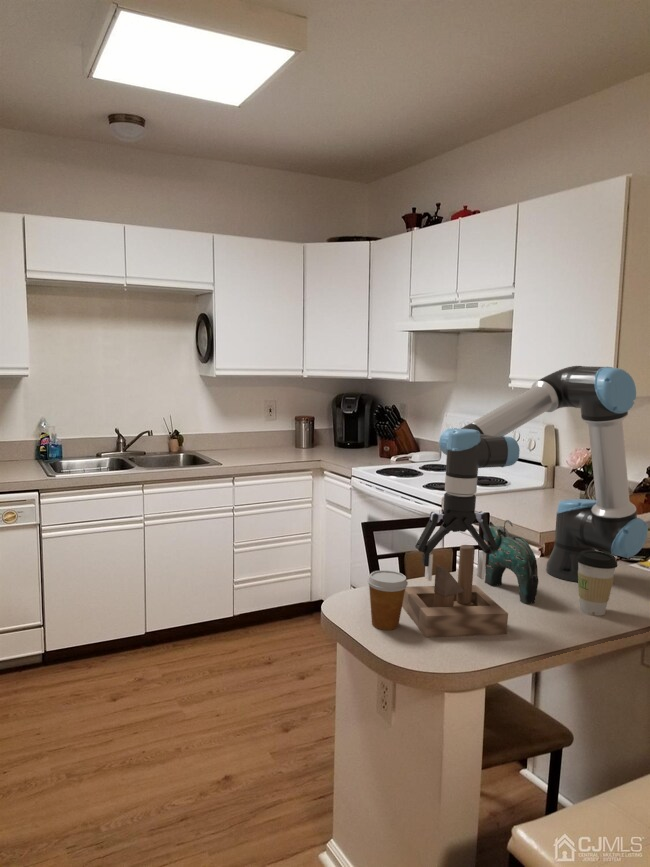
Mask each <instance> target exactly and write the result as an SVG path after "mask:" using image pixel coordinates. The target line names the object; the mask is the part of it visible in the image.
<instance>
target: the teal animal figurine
mask: <svg viewBox="0 0 650 867" xmlns="http://www.w3.org/2000/svg"><path fill="white" fill-rule="evenodd" d="M507 522H508V524H509V525H511V527H513V524H512V521H510V520H509V519H506V520H505V521H504V523H503V524H504V525H503V526H501V525H500V526H499V525H498V526H497V525H494V523H493V522H492V521H489V523H488V525H489V527H490V530H491V532H492V535H493V537H494V540H495V542H496V545H497V547H498V548H497V550H493V551H492V553H491V554H489V564H488V565H485V578H484V583H485V584H487V585H489V586H490V587H491V586H492V587H497V586H502V583H503V580H502V579H503V575H504V573H505V571H506V569H508V570H510V571H512V572H513V574H514V576H515V577H516V579H517V583H518V591H519V592H518V594H519V602H521V603H523V604H525V605H531V604H535V601H536V598H537V594H538V593H537V592H538V586H539V576H538V562H537V558H536V555H535V553H534V551H533V549H532V548H531V545H530V544H529V543H528V542H527V541H526V540H525V539H523V537H520V536H511V535H510V533H509V531H508V530H507V528H505V527H506V523H507ZM482 539H483V540H484V542H485V543H486V544H487V545H488V542H487V540H486V538H485V535H484V534H483V538H482Z"/></svg>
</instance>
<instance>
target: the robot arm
mask: <svg viewBox="0 0 650 867" xmlns="http://www.w3.org/2000/svg"><path fill="white" fill-rule="evenodd" d="M636 399H637V386H636V383H635V380H634V379H633V377H632V375H631V374H629V372H627V370H624V369H622V368H617V367H612V366H584V365H583V366H582V365H571V366H567V367H565V368H561V369H559V370H556V371H553V372H552V373H550V374H548V375H546V376H544V377H542V378H540V379H538V380H536V381H535V382H534V383H533V384H532V385H531V387H530V389H528V390H526V391H525V392H522V393H520V395H517V396H515V397H514V398H512V399H511V400H508V401H506V402H505V403H502V405H500V406H498V407H496V408H494V409H493V410H491V411H490V412H487V413H486V414H484V415H482V416H480V417H479V418H477V419H475V420H473V421H471V422H469V423H468V424H467V425H464V426H462V427H460V428H456V427H455V428H454V427H453V428H447V429H445V430H444V431H443V432H442V433H441V435H440V437H439V439H438V440H439V441H438V443H439V448H440V451H441V452H442V454H444V455H446V458H445V460H446V462H445V477H444V478H445V480H444V491H445V493H444V495H443V510H442V513H438V512H435V511H431V512H430V514H429V518H428V519H429V520H428V522H427V524H426V525H425V527H424V529H423V531H422V533H421V535H420V536H419V538H418V539H417V542H416V543H415V549H416V550H417V551H419V552H420V553H422V557H421V558H422V560H421V564H422V565H423V567H425V569H424V577H425V579H426V580H427V581H428V582H429V581H430V582H431V581H432V577H433V563H434V560H433V559H434V554H433V553H432V551H433V550H434V549H435V548H436V546H438V544H439V543H440V542H441V541H442V540H443V539H444V538H445V537H446V536H447V535H448V534H450V532H453V533H457V532H461V533H463V532H464V533H465V532H467V531H468V532H469V534H470V535H471V536H472V538H473V539H474V540H475V541H476V543H477V544H478V546H479V547H480V548H481V549H482V550H478V559H477V569H476V570H477V571H476V576H477V577H478V579H479V578H480V579H481V580H485V575H486V574H485V567H486V565H488V564H489V554H491V553H492V551H493V550H497V548H498V547H497V545H496V542H495V540H494V537H493V535H492V532H491V530H490V527H489V523H488V514H487V513H485V512H483V511H479V512H476V500H477V495H475V494H477V489H478V488H477V487H478V474H479V469H482V468H484V469H485V468H486V469H487V468H505V467H506V468H507V467H510V466H511V467H512V466H514V465H515V464H516V463H517V462H518V461H519V458H520V451H521V450H520V446H519V443H518V441H517V440H516V439H515V438H514V437H512V436H506V435H508V434H510V433H511V432H513V431H515V430H517V429H518V428H521V426H523V425H525V424H527V423H528V422H530V421H532V420H534V419H536V418H537V417H539V416H540V415H543V414H545V413H552V412H554V411H556V410H559V409H563V408H576V409H577V408H578V409H580V414H581V417H580V418H581V420H582V421H583V422H585V423H586V424H587V426H588V434H589V435H588V436H589V444H590V454H591V463H592V471H593V472H592V473H593V482H594V483H593V484H594V493H595V499H588V498H587V499H586V498H570V499H562V500H561V501H559V503H558V505H557V511H556V514H555V515H556V518H555V520H556V521H555V532H554V533H555V534H554V544H553V545H554V546H553V549H552V551H551V553H550V555H549V557H548V560H547V562H546V568H545V569H546V570H545V571H546V573H548V574H549V575H550V576H552V577H555V578H557V579H561V580H565V581H570V582H578V570H579V569H578V561H577V557H578V556H579V554H580V552H581V551H586V550H592V551H596V549H597V550H600V551H602V552H605V553H608V554H611V555H613V556H614V557H616V556H617V557H622V558H625V559H626V558H631V557H634V556H636V555H637V554H638V553H639V552H640V551H641V550H642V548H643V547H644V545H645V543H646V541H647V538H648V533H649V528H648V524H647V522H646V521H645V520H644V519H642V518H640V517H638V514H637V507H636V505H635V504H633V502H631V501H630V492H629V479H628V472H627V471H628V470H627V459H626V456H627V455H626V448H625V447H626V446H625V437H624V424H623V420H625V419H626V418H627V417H628V416H629V411H630V410H631V409H632V408H633V407H634V404H635V402H634V401H635V400H636ZM441 520H442V524H440V526H439V528H438V529H437V531H436V532H434V531H435V530H436V528H437V524H438V523H439V522H440V521H441ZM476 520H477V521H478V523H479V525H480V528H481V530H482V533H483V536H484V535H485V538H486V540H487V542H488V545H487V544H486V543H485V542H484V538H482V536H481V535H480V534H479V532H478V531H477V529H476V528H475V527H474V525H473V524H474V523H475V521H476ZM433 533H434V534H433ZM432 534H433V535H432Z"/></svg>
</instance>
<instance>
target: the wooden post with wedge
mask: <svg viewBox="0 0 650 867" xmlns="http://www.w3.org/2000/svg"><path fill="white" fill-rule="evenodd" d="M475 550H476V548H475V546H474V545H471V544H461V545H460V546H459V557H458V569H457V570H458V571H457V572H458V574H457V580H456V579H455V577H454V576H453V575H452V574H451V572H450V571H449V570H448V569H447V568H446V567H443V566H440V565H439V564H436V565H435V571H434V572H435V574H434V586H435V587H434V592H435V594H434V607H461V606H474V604H473V603H472V602H471V595H472V585H473V578H474V566H475V565H474V564H475V554H476V553H475ZM454 594H457V599H456V600H457V601H454Z"/></svg>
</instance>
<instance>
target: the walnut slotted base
mask: <svg viewBox="0 0 650 867" xmlns="http://www.w3.org/2000/svg"><path fill="white" fill-rule="evenodd" d="M434 587H435V585H426V586H425V585H424V586H423V585H422V586H420V585H419V586H418V585H417V586H413V585H412V586H407V587H406V588H405V593H404V599H403V604H402V608H403V610H404V611H405V612H406V613H407V615H408V616H409V618H410V619H411V621H413V622H414V624H415V625H416V627H417V628H418V629H419V630H420V632H421V633H422V634H423V636H424V637H425V638H432V637H433V638H435V637H436V638H437V637H455V636H456V637H458V636H459V637H460V636H461V637H462V636H487V635H507V632H508V623H509V622H508V619H509V612H507V611H506V610H505V609H504V608H502V607H501V606H500V605H499V604H498V603H497V602H496V601H495V600H493V599H492V598H491V597H490V596H489V594H487V593H486V592H485V591H484V590H482V589H481V588H480V587H479V586H478V585H476V584H472V595H471V602H472V603H473V604H474V606H461V607H434V594H435V592H434ZM456 599H457V594H454V601H457V600H456Z"/></svg>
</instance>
